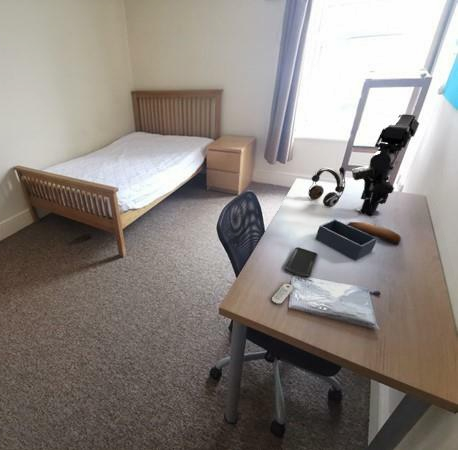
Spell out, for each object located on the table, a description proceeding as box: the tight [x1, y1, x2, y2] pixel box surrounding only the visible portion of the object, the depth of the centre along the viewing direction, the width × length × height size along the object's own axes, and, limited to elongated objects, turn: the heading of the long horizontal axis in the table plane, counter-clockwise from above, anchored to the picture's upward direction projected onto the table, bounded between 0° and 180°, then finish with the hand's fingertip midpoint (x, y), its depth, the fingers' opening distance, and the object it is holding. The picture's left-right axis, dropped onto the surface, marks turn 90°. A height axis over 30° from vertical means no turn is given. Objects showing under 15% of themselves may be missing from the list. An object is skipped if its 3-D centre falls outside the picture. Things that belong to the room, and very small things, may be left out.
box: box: [315, 218, 379, 262], centre depth 106 cm, size 10×16×6 cm, turn 28°
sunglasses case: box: [347, 221, 401, 245], centre depth 113 cm, size 18×7×7 cm
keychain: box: [271, 283, 294, 305], centre depth 88 cm, size 10×1×3 cm
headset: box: [308, 166, 346, 208], centre depth 133 cm, size 17×8×20 cm, turn 20°
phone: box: [284, 246, 319, 279], centre depth 100 cm, size 8×1×15 cm
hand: (368, 199), depth 111 cm, fingers open, 9 cm apart
